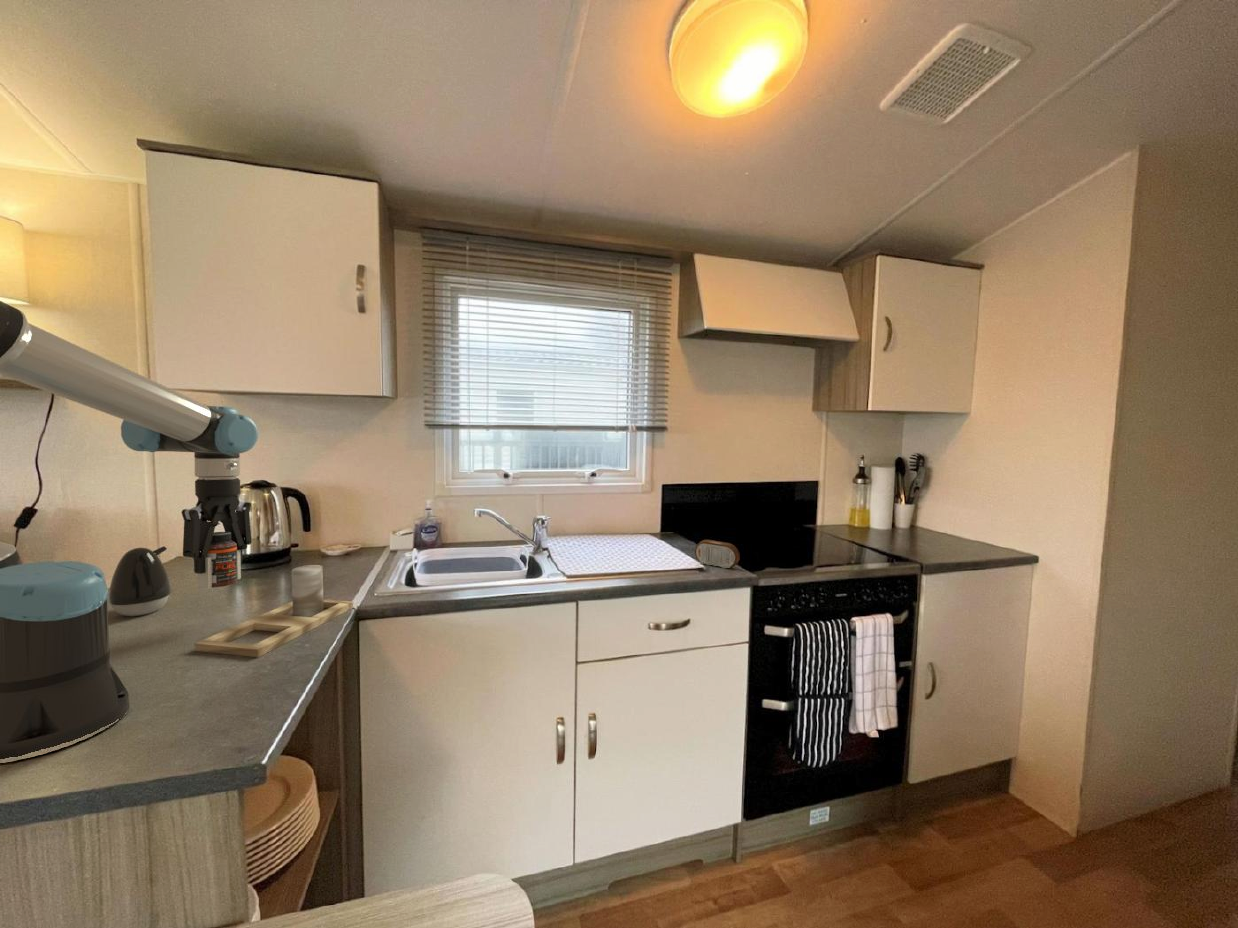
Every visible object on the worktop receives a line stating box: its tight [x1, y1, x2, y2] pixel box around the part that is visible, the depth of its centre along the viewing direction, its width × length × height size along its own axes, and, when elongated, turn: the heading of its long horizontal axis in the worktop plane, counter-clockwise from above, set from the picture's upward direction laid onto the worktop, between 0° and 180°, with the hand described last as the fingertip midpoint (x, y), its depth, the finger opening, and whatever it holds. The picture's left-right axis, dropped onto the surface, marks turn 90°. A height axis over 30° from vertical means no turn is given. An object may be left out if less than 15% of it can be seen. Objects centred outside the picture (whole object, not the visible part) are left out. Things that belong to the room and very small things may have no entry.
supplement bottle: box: [207, 531, 238, 588], centre depth 104 cm, size 6×6×11 cm
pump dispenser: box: [108, 546, 172, 617], centre depth 111 cm, size 10×10×15 cm
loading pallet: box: [194, 564, 354, 658], centre depth 104 cm, size 26×14×11 cm, turn 172°
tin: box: [694, 539, 741, 568], centre depth 160 cm, size 15×3×8 cm, turn 58°
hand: (219, 582), depth 105 cm, fingers closed on supplement bottle, 6 cm apart
